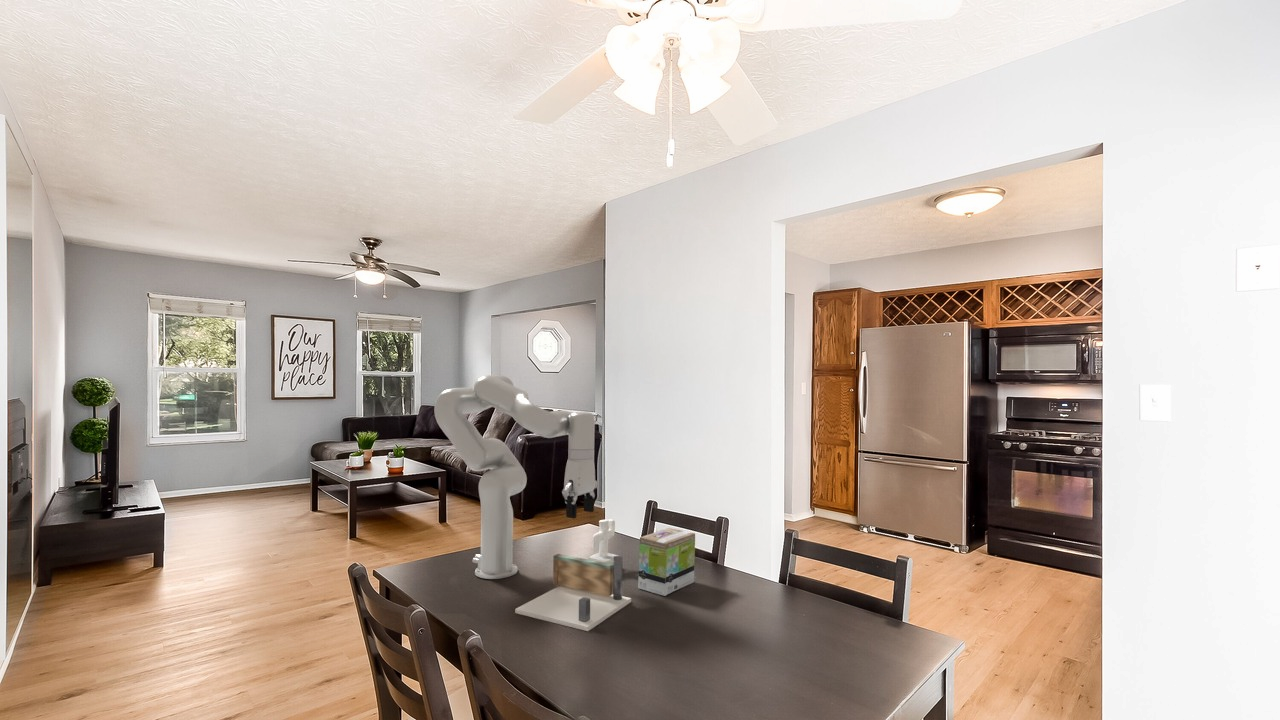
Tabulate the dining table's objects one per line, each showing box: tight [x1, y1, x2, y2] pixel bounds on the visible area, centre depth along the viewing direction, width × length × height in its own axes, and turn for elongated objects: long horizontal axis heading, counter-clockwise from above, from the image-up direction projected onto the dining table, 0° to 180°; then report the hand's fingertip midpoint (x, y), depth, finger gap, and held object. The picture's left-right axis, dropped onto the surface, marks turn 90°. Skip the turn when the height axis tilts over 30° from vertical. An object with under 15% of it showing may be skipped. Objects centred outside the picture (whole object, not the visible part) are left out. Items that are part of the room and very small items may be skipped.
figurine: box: [587, 519, 620, 564], centre depth 187 cm, size 7×9×15 cm
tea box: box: [637, 527, 696, 597], centre depth 172 cm, size 15×10×15 cm, turn 143°
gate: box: [552, 553, 613, 596], centre depth 164 cm, size 18×2×8 cm, turn 62°
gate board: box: [514, 585, 632, 632], centre depth 155 cm, size 22×21×1 cm
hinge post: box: [579, 555, 623, 622], centre depth 152 cm, size 2×18×12 cm, turn 152°
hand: (580, 514), depth 173 cm, fingers open, 8 cm apart
